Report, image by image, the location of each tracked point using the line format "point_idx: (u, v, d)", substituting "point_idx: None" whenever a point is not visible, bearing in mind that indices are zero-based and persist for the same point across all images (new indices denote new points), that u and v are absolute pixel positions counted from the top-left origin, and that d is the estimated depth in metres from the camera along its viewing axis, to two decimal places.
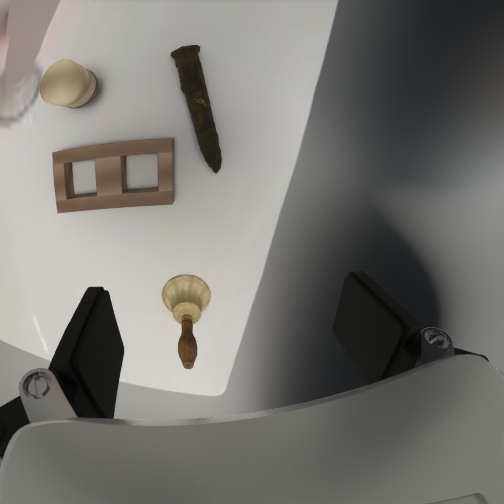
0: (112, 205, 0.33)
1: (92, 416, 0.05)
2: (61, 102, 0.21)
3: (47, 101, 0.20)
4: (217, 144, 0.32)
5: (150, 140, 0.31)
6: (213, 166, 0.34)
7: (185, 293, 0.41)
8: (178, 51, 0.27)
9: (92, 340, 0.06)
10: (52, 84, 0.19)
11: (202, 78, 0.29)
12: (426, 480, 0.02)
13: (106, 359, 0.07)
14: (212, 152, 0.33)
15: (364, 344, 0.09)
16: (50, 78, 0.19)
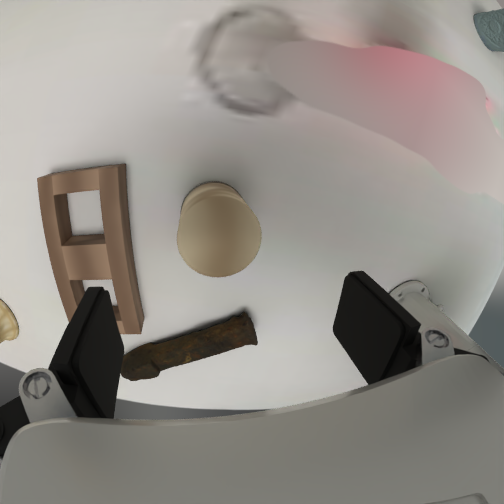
0: (54, 266, 0.23)
1: (92, 416, 0.05)
2: None
3: (184, 219, 0.17)
4: (145, 378, 0.29)
5: (134, 313, 0.26)
6: (123, 376, 0.28)
7: (0, 331, 0.23)
8: (248, 332, 0.30)
9: (92, 340, 0.06)
10: (216, 226, 0.17)
11: (215, 354, 0.31)
12: (426, 480, 0.02)
13: (106, 359, 0.07)
14: (136, 376, 0.29)
15: (364, 344, 0.09)
16: (230, 221, 0.17)
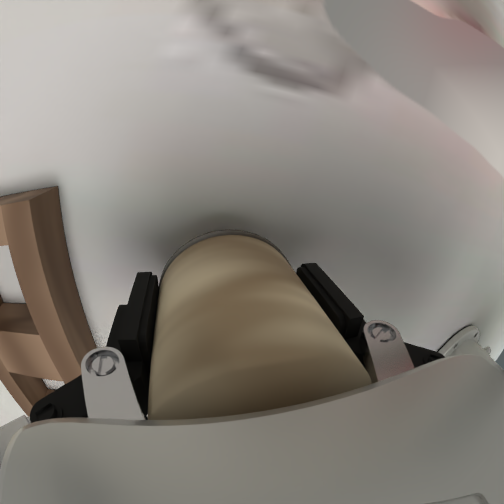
0: None
1: None
2: None
3: (162, 415, 0.04)
4: None
5: None
6: None
7: None
8: None
9: (151, 319, 0.08)
10: None
11: None
12: (426, 480, 0.02)
13: None
14: None
15: None
16: (302, 402, 0.05)
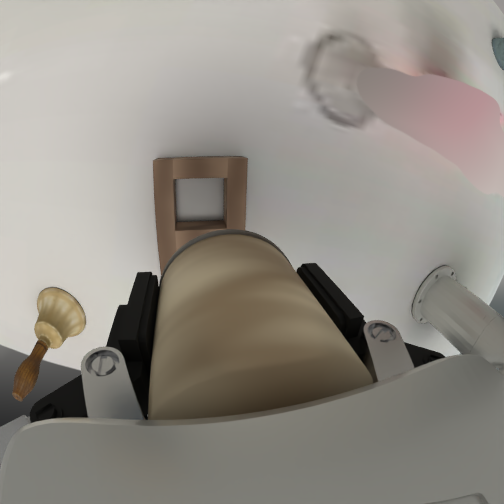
0: (162, 252, 0.27)
1: None
2: None
3: (162, 415, 0.04)
4: None
5: None
6: None
7: (67, 327, 0.28)
8: None
9: (151, 319, 0.08)
10: None
11: None
12: (426, 480, 0.02)
13: None
14: None
15: None
16: (303, 402, 0.05)
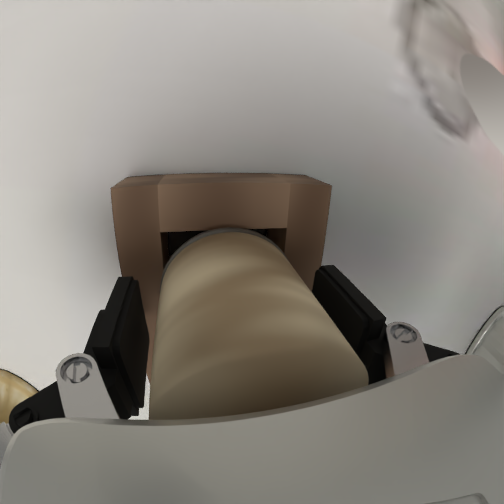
0: (150, 365, 0.13)
1: (127, 400, 0.06)
2: None
3: (163, 405, 0.05)
4: None
5: None
6: None
7: None
8: None
9: (128, 325, 0.07)
10: (260, 410, 0.05)
11: None
12: (426, 480, 0.02)
13: (138, 345, 0.08)
14: None
15: None
16: (299, 394, 0.05)
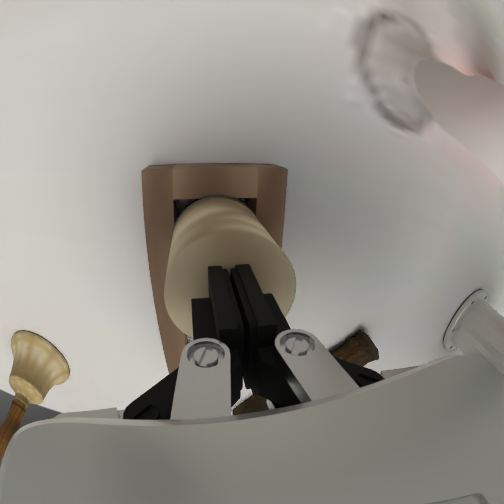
0: (159, 303, 0.18)
1: None
2: None
3: (175, 269, 0.10)
4: None
5: None
6: None
7: (47, 380, 0.19)
8: (372, 352, 0.26)
9: None
10: None
11: None
12: (426, 480, 0.02)
13: None
14: None
15: None
16: None
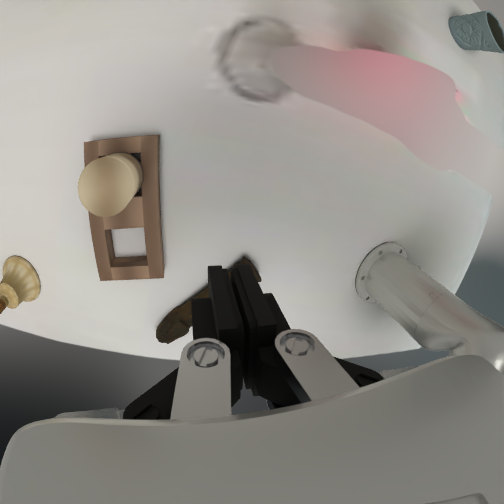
0: (91, 218, 0.29)
1: None
2: None
3: (82, 175, 0.20)
4: (179, 337, 0.37)
5: (160, 258, 0.33)
6: (160, 341, 0.37)
7: (24, 289, 0.29)
8: None
9: None
10: (101, 178, 0.21)
11: None
12: (426, 480, 0.02)
13: None
14: (170, 337, 0.37)
15: None
16: (110, 173, 0.21)
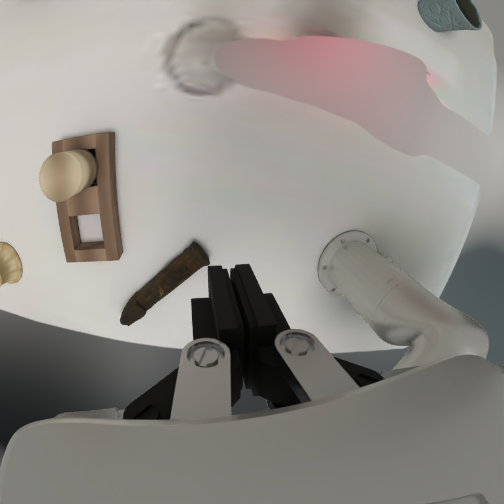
0: (58, 206, 0.30)
1: None
2: None
3: (42, 168, 0.22)
4: (137, 319, 0.39)
5: (114, 241, 0.35)
6: (121, 322, 0.39)
7: (7, 271, 0.31)
8: (195, 255, 0.38)
9: None
10: (55, 170, 0.23)
11: (181, 282, 0.39)
12: (426, 480, 0.02)
13: None
14: (129, 319, 0.39)
15: None
16: (62, 166, 0.23)
